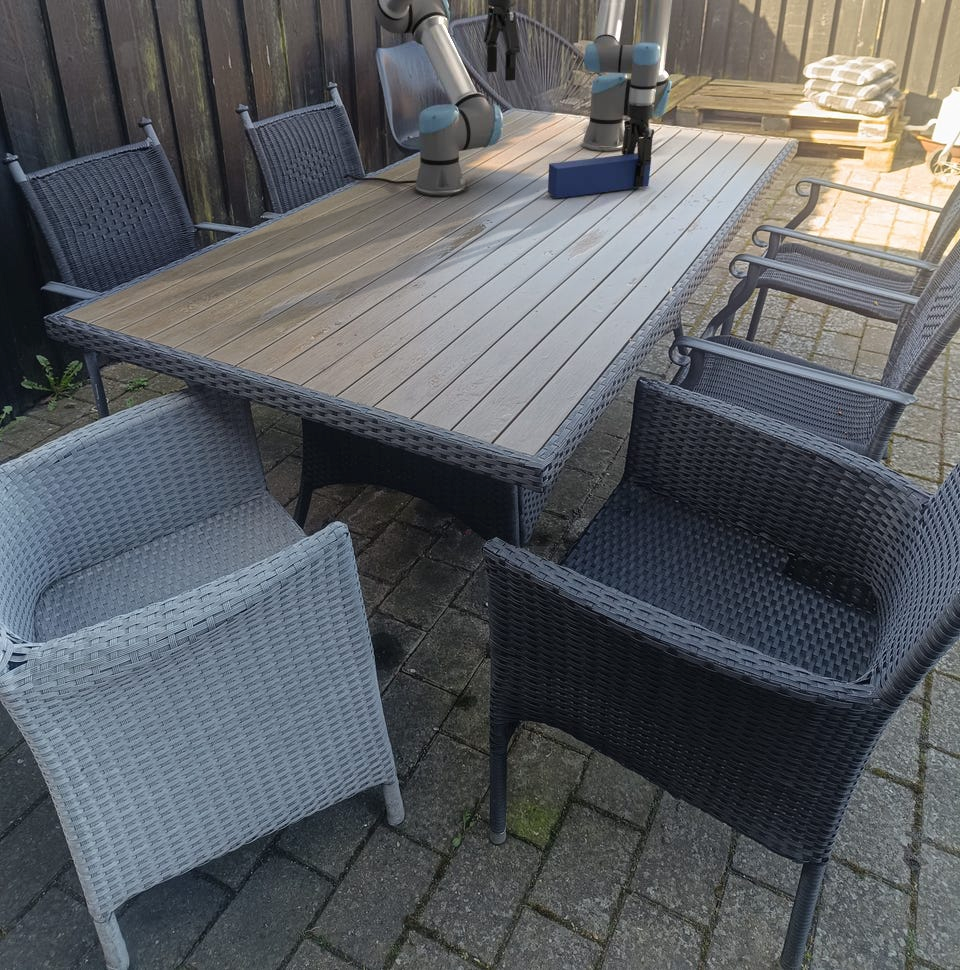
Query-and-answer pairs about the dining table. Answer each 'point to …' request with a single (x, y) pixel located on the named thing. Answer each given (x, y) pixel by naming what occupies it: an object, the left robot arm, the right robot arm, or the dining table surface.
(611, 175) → the bar
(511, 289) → the dining table surface
